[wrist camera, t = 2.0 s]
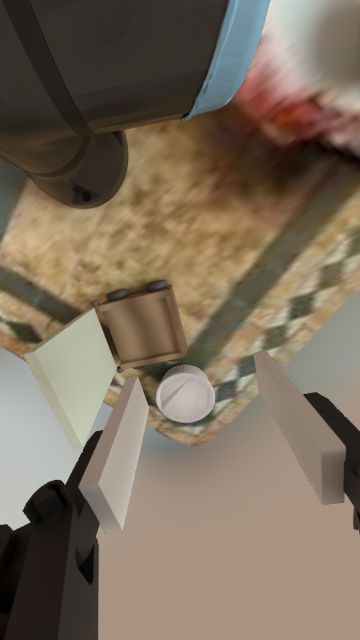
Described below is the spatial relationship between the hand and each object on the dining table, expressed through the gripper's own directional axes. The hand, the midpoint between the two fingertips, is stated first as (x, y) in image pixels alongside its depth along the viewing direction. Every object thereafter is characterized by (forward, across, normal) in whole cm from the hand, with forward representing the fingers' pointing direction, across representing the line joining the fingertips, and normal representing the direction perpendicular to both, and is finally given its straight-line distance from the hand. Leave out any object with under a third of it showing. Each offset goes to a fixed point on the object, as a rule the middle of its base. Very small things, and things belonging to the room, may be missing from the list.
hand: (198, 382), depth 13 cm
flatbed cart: (+25, -9, -3) cm, 27 cm away
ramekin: (+25, -5, -18) cm, 31 cm away
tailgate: (+21, -16, -3) cm, 26 cm away
